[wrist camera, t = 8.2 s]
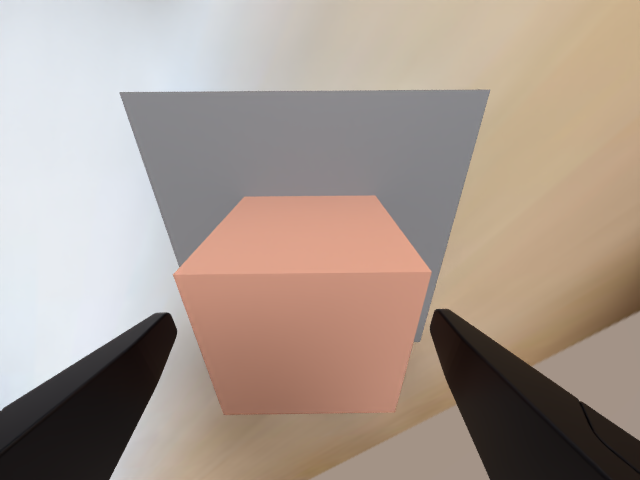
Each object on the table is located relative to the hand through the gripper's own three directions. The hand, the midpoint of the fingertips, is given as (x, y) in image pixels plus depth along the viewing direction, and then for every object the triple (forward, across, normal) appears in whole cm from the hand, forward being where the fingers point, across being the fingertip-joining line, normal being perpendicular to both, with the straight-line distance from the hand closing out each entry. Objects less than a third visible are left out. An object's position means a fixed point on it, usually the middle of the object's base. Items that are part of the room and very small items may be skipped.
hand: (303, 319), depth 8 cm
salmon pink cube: (+5, 0, 0) cm, 5 cm away
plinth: (+7, 0, 0) cm, 7 cm away
